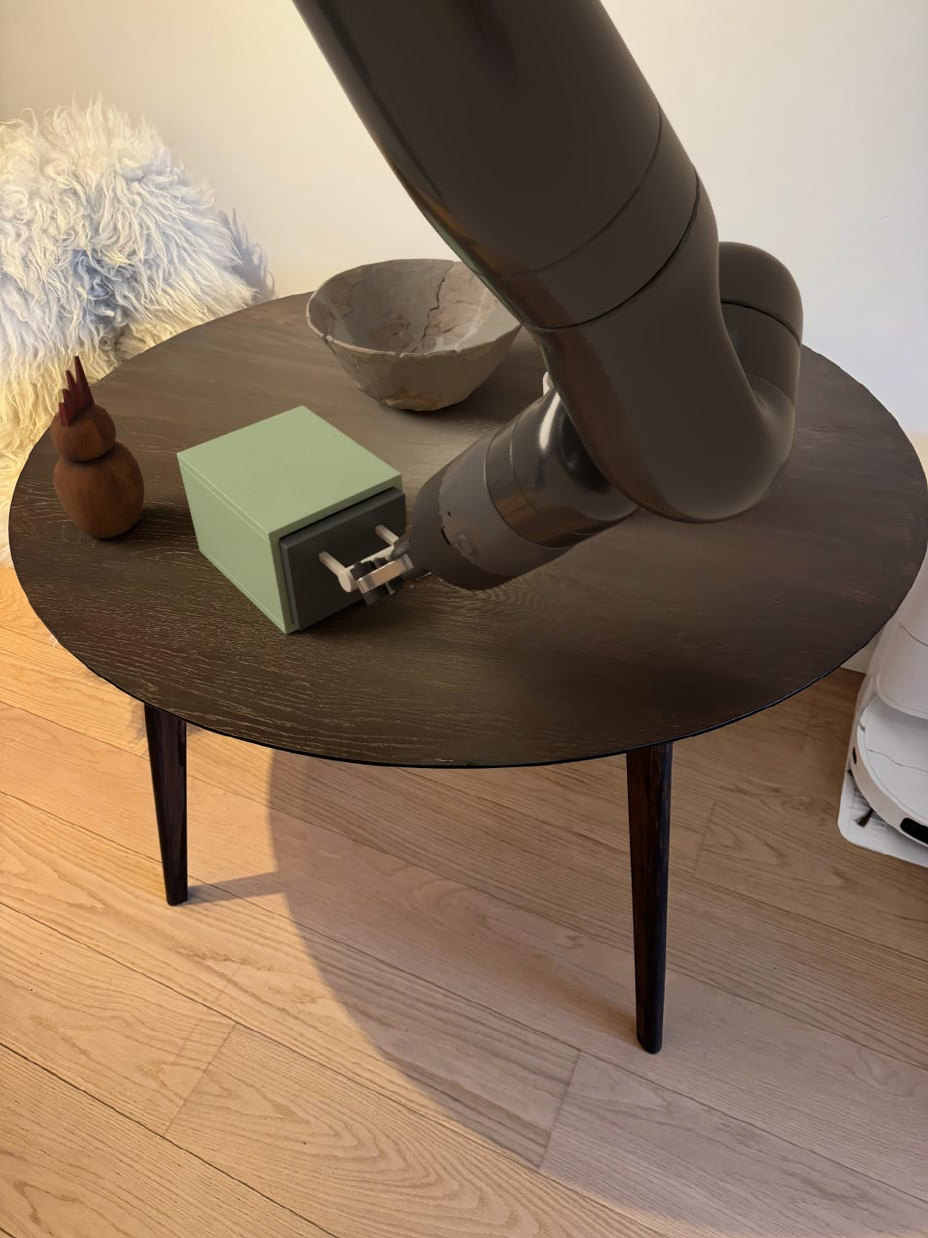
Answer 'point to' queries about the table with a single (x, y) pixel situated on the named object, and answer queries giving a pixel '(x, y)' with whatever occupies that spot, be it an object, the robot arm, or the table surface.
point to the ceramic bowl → (413, 330)
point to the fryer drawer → (338, 554)
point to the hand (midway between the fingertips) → (389, 578)
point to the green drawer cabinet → (273, 496)
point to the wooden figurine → (93, 464)
